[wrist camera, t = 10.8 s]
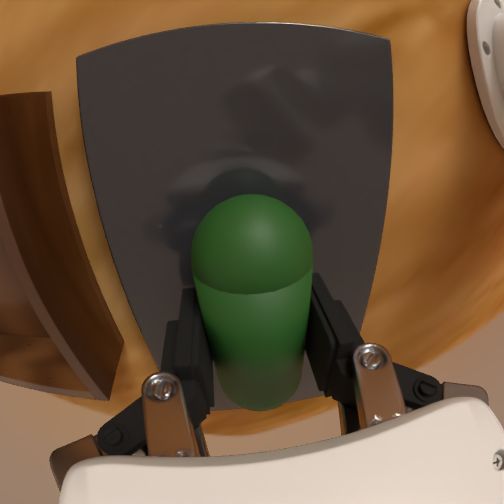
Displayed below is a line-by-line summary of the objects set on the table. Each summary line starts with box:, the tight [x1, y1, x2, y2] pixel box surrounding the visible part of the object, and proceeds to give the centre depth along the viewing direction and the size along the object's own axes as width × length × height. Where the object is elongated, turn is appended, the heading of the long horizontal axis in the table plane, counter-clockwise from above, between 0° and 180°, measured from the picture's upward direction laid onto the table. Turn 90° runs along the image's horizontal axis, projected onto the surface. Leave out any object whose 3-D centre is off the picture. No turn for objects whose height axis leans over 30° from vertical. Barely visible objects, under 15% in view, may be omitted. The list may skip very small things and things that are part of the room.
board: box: [76, 22, 393, 411], centre depth 13 cm, size 12×22×2 cm, turn 3°
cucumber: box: [190, 194, 314, 411], centre depth 11 cm, size 4×10×4 cm, turn 4°
